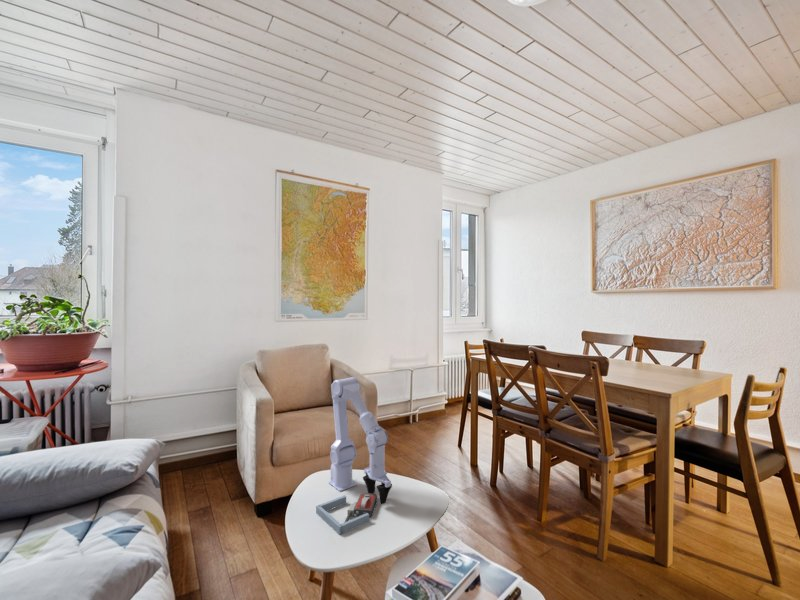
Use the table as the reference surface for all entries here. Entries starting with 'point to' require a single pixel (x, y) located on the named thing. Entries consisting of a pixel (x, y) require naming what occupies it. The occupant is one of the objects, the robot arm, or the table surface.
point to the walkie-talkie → (362, 506)
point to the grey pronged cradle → (333, 523)
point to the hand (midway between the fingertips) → (377, 498)
